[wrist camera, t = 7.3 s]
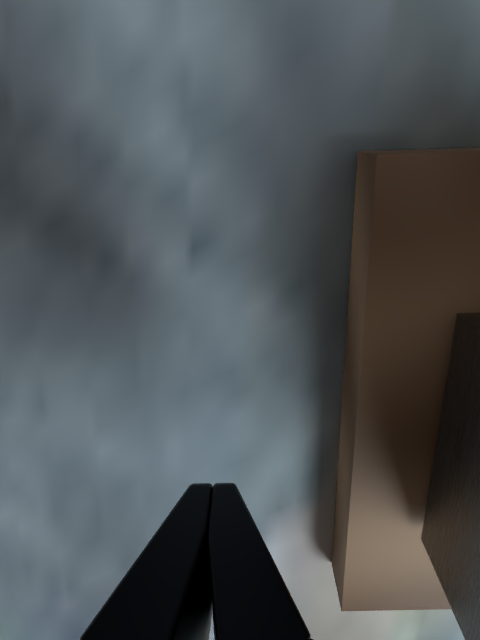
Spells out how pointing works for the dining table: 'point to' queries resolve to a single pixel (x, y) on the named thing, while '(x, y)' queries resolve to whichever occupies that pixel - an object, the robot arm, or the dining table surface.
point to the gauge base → (400, 365)
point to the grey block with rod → (458, 481)
